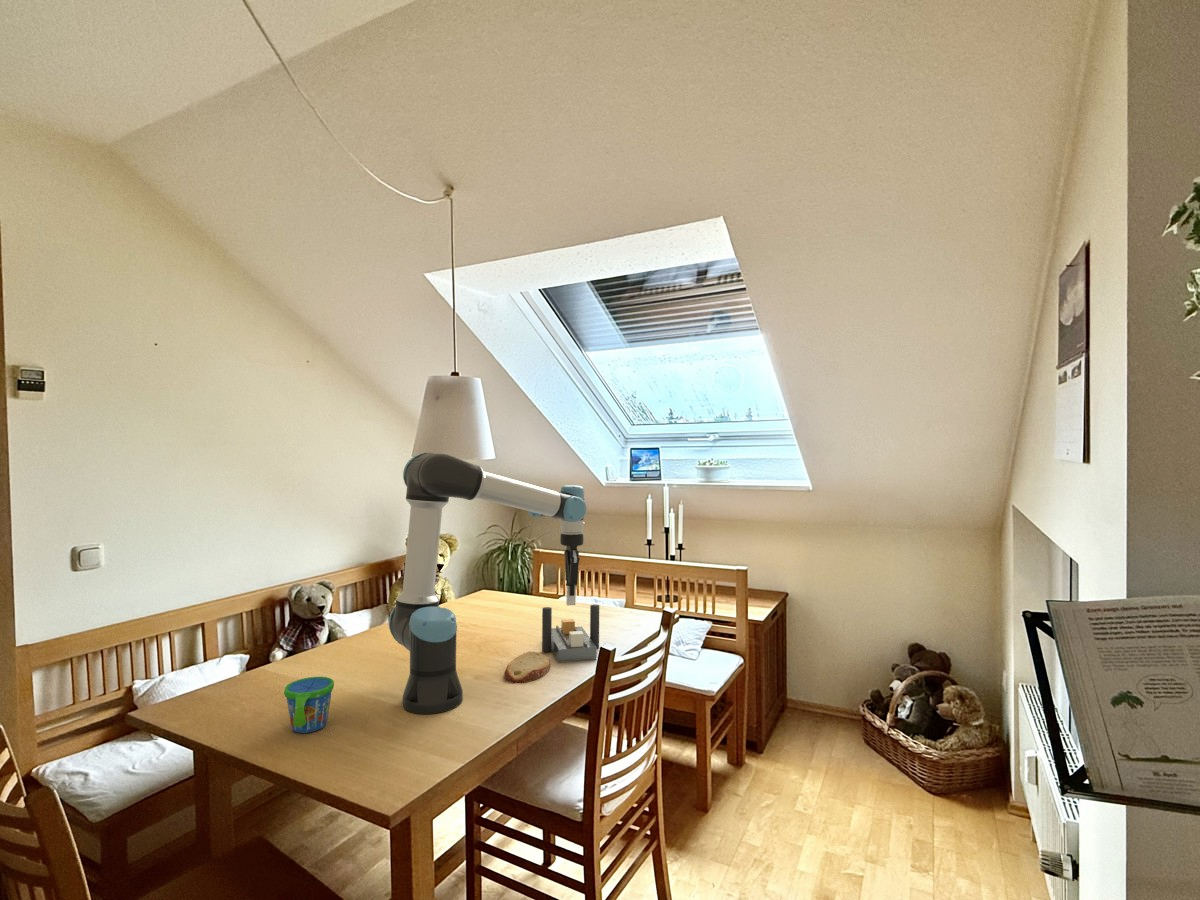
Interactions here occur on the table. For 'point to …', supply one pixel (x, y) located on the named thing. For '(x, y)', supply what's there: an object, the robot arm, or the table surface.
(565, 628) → the toggle
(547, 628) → the post left
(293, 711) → the snack cup
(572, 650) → the grey tray
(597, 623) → the post right
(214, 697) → the table surface
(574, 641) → the toggle
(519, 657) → the bread slice
